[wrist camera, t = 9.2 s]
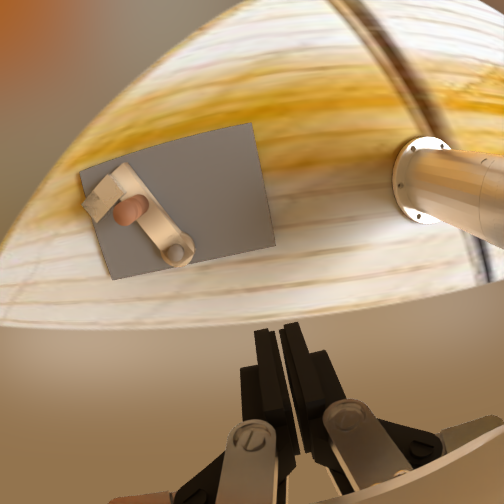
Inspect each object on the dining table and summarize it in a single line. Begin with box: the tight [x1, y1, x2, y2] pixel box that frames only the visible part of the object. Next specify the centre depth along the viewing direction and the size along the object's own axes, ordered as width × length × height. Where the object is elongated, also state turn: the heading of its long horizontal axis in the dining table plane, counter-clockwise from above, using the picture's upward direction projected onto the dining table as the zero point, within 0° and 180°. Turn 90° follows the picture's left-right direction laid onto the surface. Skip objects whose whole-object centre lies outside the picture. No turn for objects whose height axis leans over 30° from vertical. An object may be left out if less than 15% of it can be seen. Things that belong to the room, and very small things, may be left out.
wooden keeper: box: [81, 173, 127, 223], centre depth 32 cm, size 3×5×3 cm, turn 129°
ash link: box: [112, 162, 196, 268], centre depth 31 cm, size 14×4×7 cm, turn 36°
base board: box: [79, 123, 276, 280], centre depth 35 cm, size 22×15×2 cm
